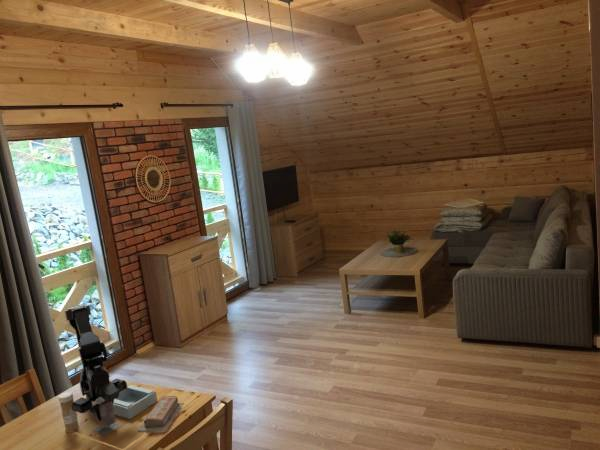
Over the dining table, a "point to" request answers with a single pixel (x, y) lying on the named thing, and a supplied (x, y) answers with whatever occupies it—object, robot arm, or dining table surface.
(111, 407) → the block
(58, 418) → the dining table surface
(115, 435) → the dining table surface
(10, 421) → the dining table surface
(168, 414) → the packaged product
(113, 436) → the dining table surface
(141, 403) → the grey open tray
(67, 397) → the sprinkles bottle
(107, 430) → the coaster
